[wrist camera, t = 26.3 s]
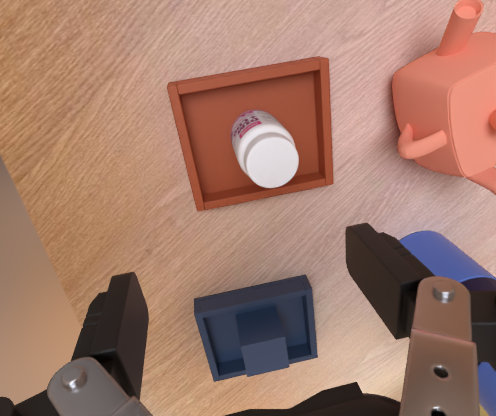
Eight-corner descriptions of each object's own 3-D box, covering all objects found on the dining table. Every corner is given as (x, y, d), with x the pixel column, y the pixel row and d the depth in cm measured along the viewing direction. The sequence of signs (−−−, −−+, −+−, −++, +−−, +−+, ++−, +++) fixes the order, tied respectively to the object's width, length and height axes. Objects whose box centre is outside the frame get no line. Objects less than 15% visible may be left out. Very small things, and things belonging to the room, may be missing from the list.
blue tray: (212, 364, 47) (214, 382, 44) (193, 298, 41) (194, 314, 39) (311, 342, 48) (317, 357, 45) (305, 274, 42) (312, 288, 40)
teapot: (340, 124, 35) (393, 156, 26) (411, -1, 31) (503, -15, 22) (444, 175, 39) (519, 218, 30) (517, 72, 35) (630, 86, 26)
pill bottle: (242, 99, 32) (259, 120, 24) (287, 121, 33) (316, 146, 26) (221, 147, 33) (230, 179, 26) (265, 165, 35) (285, 201, 27)
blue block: (241, 343, 45) (247, 377, 41) (235, 314, 43) (240, 347, 38) (279, 334, 45) (289, 367, 41) (275, 305, 43) (285, 336, 39)
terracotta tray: (196, 200, 36) (197, 211, 34) (168, 82, 31) (166, 86, 28) (324, 175, 37) (333, 184, 35) (318, 56, 32) (328, 58, 29)
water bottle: (371, 290, 45) (547, 537, 23) (395, 226, 41) (636, 450, 19) (433, 293, 47) (652, 523, 25) (463, 232, 43) (752, 441, 21)
